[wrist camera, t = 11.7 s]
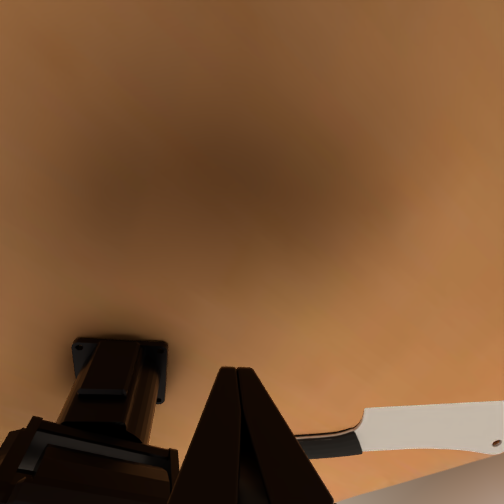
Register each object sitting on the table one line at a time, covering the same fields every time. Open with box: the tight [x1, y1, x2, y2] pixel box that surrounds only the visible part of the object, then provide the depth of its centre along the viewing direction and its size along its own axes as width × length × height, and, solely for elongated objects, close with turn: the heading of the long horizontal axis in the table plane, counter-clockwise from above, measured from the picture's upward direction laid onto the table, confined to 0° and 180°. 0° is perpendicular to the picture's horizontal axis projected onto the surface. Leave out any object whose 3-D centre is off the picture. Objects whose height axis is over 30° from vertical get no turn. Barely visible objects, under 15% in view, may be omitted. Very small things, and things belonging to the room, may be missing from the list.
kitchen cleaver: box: [294, 401, 504, 459], centre depth 31 cm, size 31×2×10 cm
